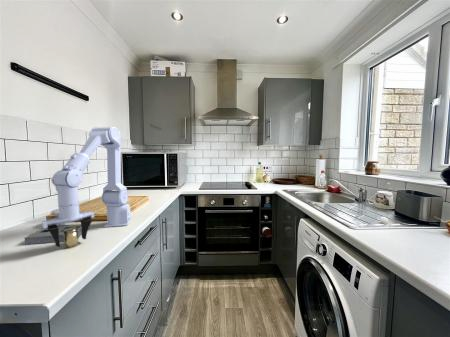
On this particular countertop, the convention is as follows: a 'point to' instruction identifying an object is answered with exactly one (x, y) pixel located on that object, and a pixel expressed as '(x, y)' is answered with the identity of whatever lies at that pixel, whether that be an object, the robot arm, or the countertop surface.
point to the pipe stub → (70, 237)
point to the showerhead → (55, 213)
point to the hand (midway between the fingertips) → (71, 241)
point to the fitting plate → (46, 237)
